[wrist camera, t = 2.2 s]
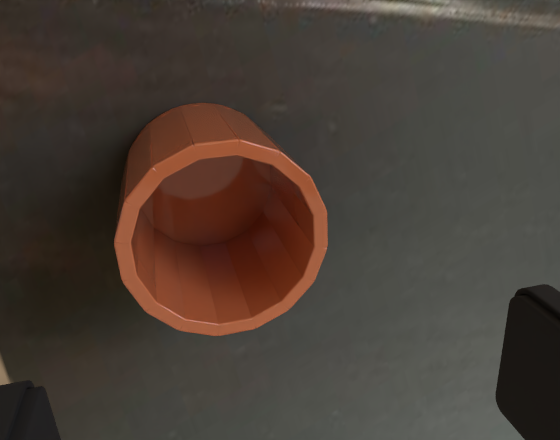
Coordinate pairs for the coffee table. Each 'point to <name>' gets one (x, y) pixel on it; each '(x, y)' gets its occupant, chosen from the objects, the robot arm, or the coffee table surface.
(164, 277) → the pot
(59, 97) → the coffee table surface
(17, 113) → the coffee table surface
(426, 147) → the coffee table surface
